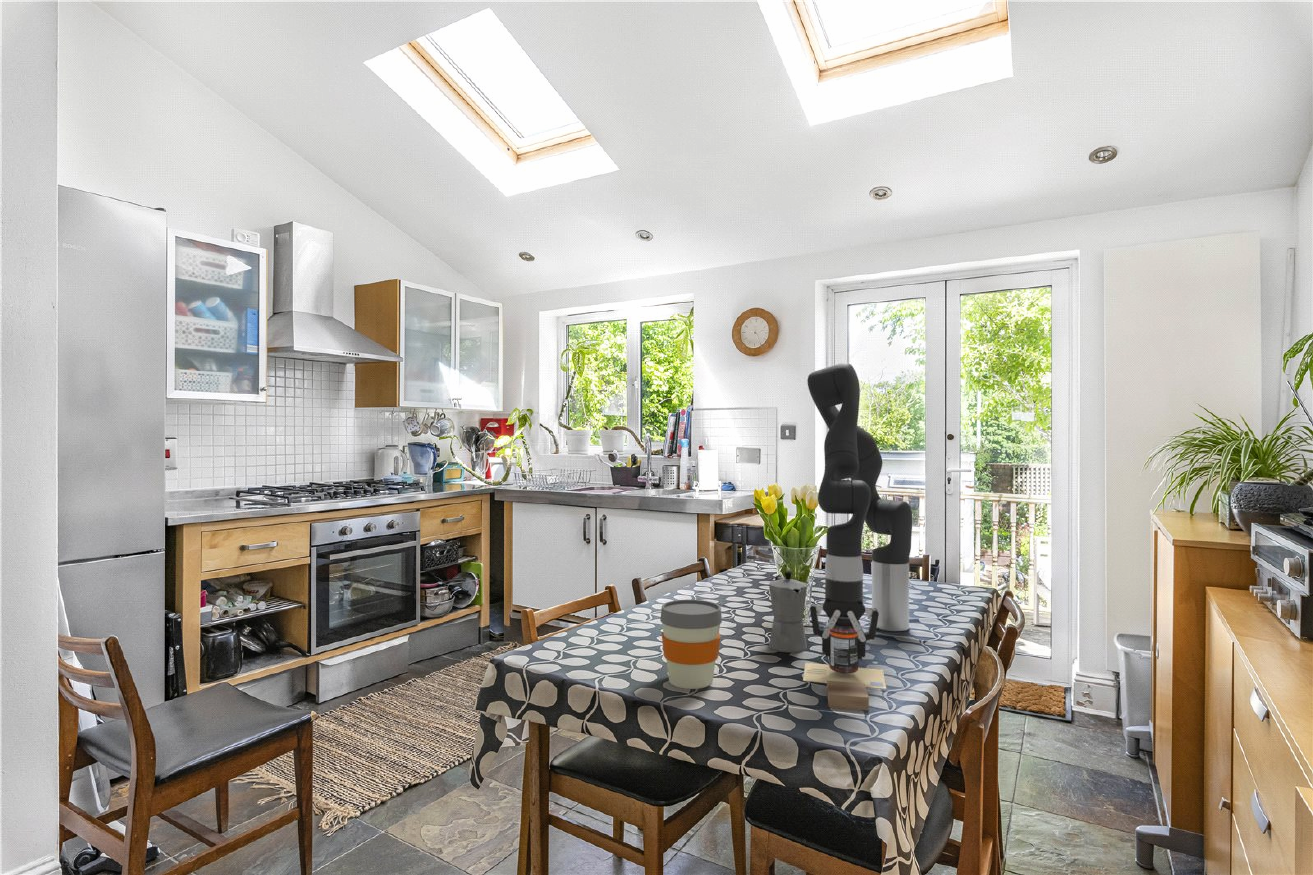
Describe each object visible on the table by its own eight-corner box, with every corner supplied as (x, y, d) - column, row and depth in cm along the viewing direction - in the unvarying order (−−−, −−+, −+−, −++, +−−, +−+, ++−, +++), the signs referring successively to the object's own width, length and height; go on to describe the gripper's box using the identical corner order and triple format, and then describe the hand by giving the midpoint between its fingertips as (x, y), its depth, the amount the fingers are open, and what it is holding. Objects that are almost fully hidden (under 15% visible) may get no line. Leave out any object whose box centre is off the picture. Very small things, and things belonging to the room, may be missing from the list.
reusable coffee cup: (719, 670, 140) (720, 599, 140) (723, 693, 127) (724, 615, 127) (661, 669, 140) (661, 598, 140) (658, 691, 128) (659, 614, 128)
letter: (805, 664, 144) (805, 662, 144) (882, 671, 139) (882, 669, 139) (802, 681, 133) (802, 680, 133) (886, 690, 129) (886, 688, 129)
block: (826, 696, 127) (826, 680, 127) (864, 699, 125) (864, 683, 125) (828, 710, 120) (828, 694, 120) (868, 714, 119) (868, 697, 119)
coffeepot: (817, 656, 149) (817, 576, 149) (777, 657, 148) (777, 577, 148) (794, 635, 164) (794, 563, 164) (757, 637, 163) (758, 564, 163)
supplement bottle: (836, 662, 141) (836, 609, 140) (863, 668, 137) (863, 614, 137) (823, 670, 136) (824, 615, 136) (851, 677, 132) (851, 620, 132)
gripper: (807, 577, 135) (807, 659, 135) (881, 582, 131) (881, 666, 131) (809, 570, 142) (808, 648, 142) (879, 574, 138) (879, 654, 138)
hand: (843, 656), depth 136 cm, fingers closed on supplement bottle, 6 cm apart
